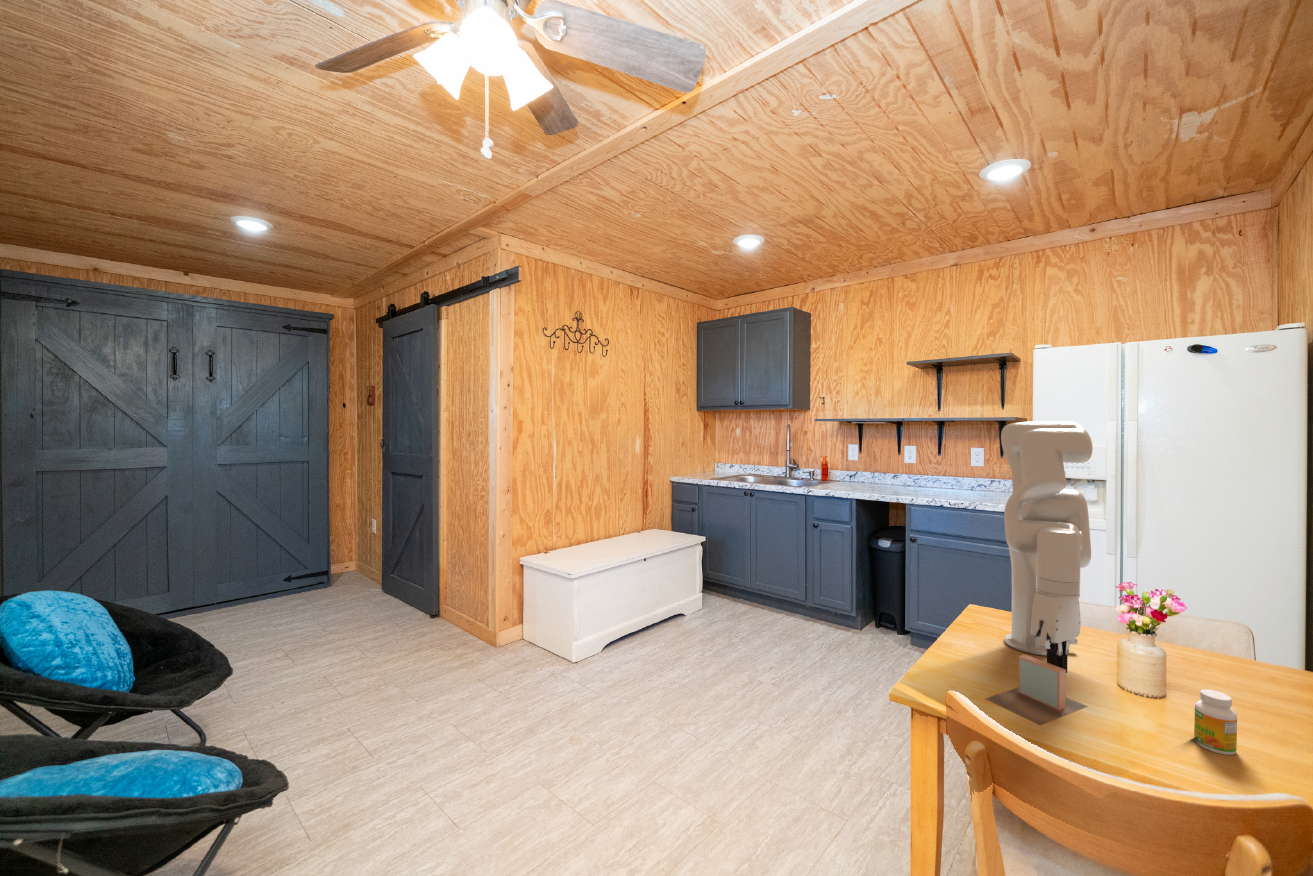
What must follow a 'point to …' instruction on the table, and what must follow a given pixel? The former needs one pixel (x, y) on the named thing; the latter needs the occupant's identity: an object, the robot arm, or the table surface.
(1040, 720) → the board
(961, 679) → the table surface
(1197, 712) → the supplement bottle
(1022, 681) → the tile
